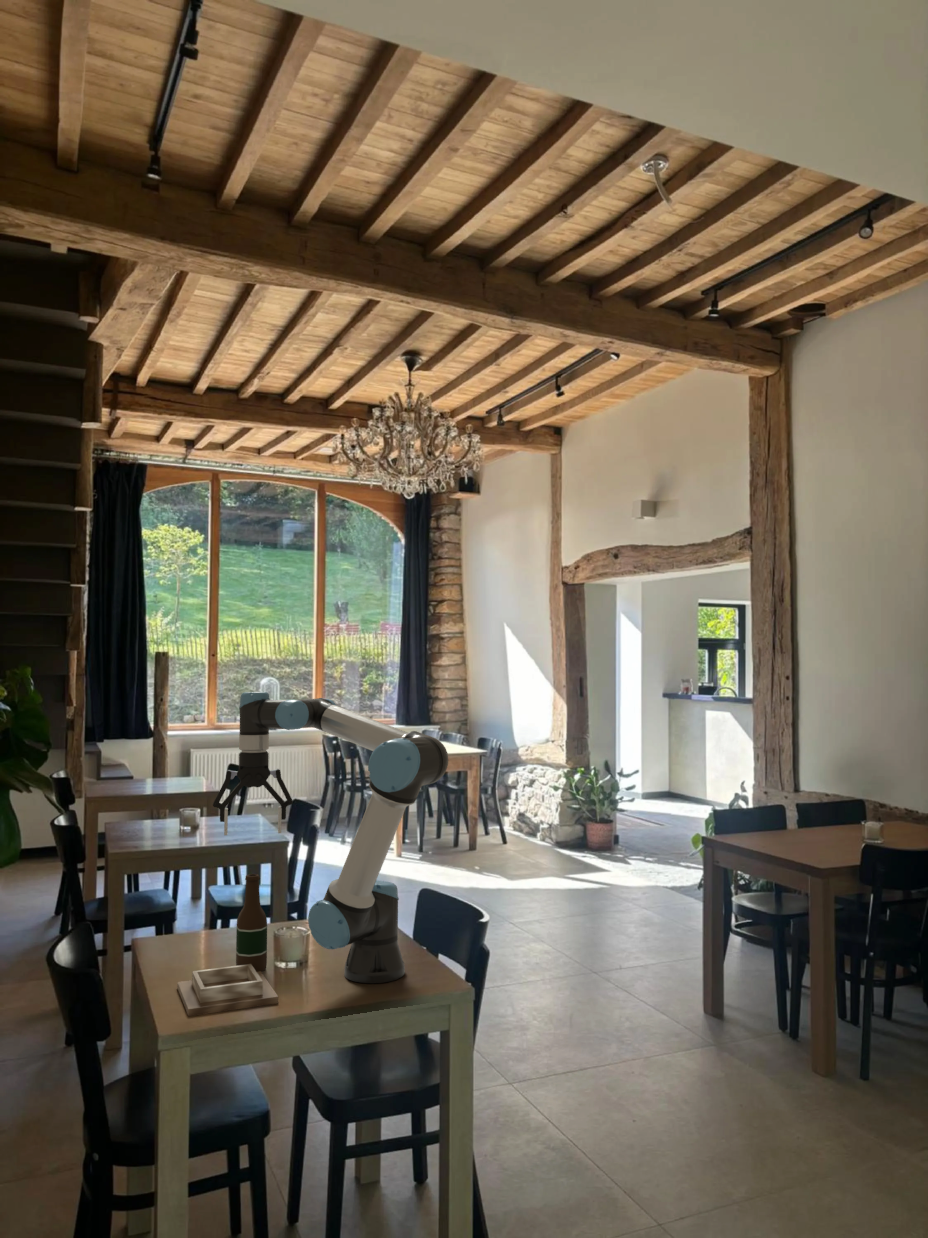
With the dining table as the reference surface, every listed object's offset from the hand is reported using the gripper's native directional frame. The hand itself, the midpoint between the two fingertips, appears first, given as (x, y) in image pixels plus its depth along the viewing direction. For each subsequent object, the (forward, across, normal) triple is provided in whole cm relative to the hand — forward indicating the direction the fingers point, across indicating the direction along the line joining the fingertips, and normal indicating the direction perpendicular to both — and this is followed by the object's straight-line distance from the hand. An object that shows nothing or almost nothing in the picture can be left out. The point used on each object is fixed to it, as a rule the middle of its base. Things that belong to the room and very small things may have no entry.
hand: (252, 833), depth 238 cm
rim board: (+34, +6, +18) cm, 40 cm away
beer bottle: (+35, 0, 0) cm, 35 cm away
